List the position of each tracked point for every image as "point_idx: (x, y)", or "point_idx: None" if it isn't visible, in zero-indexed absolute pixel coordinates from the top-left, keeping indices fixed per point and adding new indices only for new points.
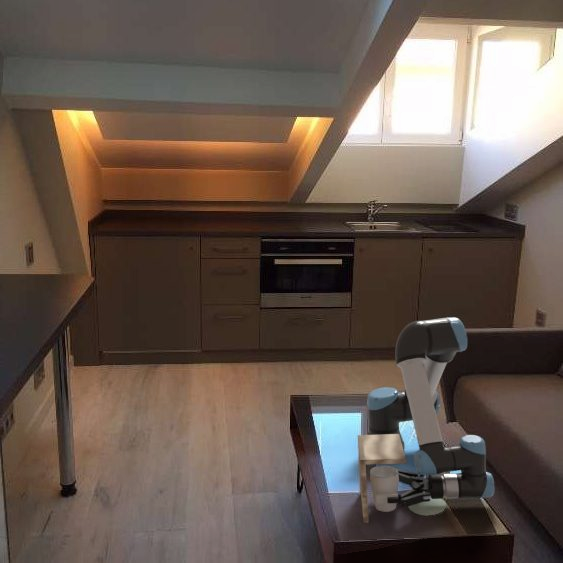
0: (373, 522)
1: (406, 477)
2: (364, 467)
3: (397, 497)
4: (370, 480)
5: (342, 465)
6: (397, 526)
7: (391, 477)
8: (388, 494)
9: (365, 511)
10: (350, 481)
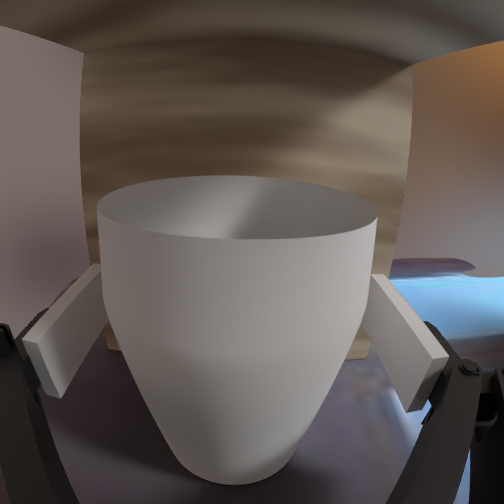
0: (102, 363)
1: (412, 482)
2: (84, 69)
3: (22, 351)
4: (225, 228)
5: (498, 300)
6: None
7: (97, 208)
8: (63, 301)
9: None
10: (431, 319)
